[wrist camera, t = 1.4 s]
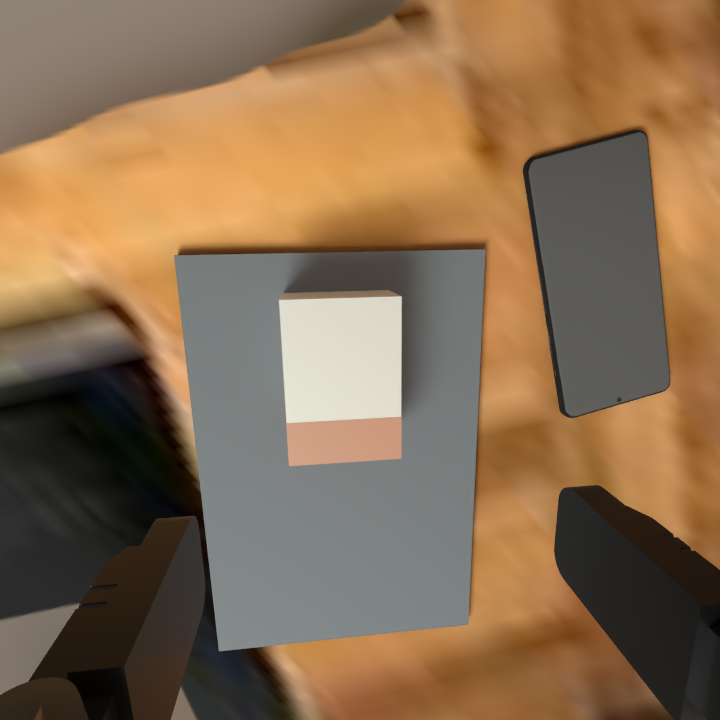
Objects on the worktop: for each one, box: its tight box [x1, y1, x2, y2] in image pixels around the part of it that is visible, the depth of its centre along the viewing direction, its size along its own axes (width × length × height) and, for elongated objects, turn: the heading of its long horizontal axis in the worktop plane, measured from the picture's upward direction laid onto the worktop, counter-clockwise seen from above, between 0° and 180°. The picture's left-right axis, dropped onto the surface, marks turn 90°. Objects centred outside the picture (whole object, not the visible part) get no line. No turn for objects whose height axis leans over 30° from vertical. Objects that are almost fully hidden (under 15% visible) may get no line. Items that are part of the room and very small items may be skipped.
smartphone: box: [523, 130, 670, 418], centre depth 26 cm, size 7×1×15 cm
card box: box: [279, 290, 402, 466], centre depth 23 cm, size 8×6×4 cm
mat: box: [174, 249, 485, 651], centre depth 26 cm, size 24×16×1 cm, turn 1°
